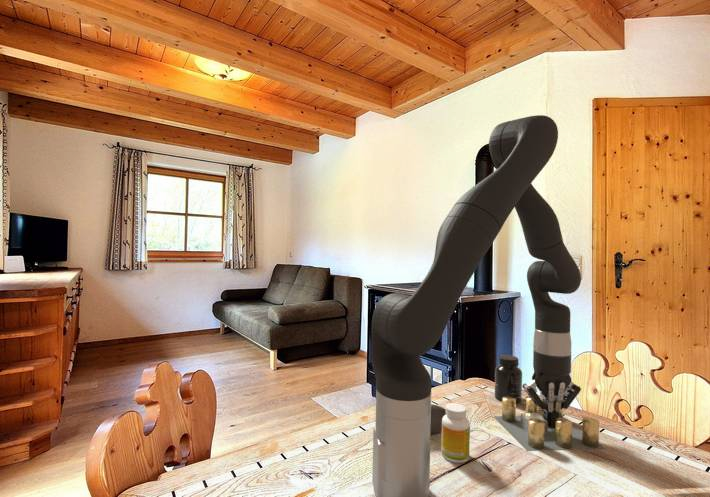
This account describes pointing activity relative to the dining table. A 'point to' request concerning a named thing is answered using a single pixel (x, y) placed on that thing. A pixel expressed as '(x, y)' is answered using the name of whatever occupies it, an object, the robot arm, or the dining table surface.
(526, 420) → the white faced textured brick
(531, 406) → the spacers
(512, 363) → the supplement bottle
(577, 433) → the mat
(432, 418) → the perforated stone tool
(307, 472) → the dining table surface
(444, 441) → the supplement bottle
